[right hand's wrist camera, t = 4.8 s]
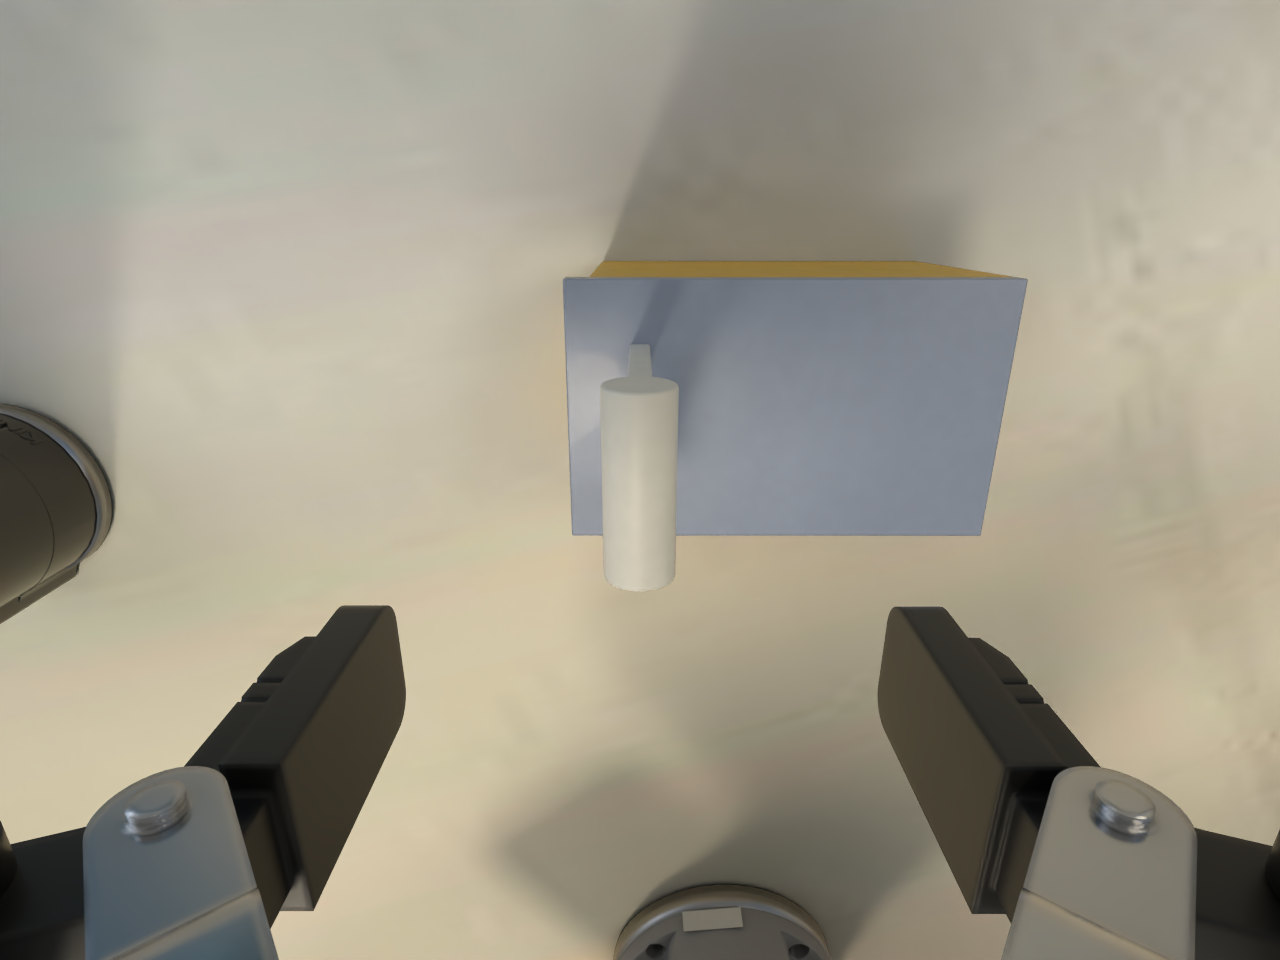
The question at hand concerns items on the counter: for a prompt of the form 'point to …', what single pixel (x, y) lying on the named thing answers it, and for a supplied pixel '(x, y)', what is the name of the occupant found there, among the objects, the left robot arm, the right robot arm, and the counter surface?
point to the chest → (781, 269)
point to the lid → (781, 408)
